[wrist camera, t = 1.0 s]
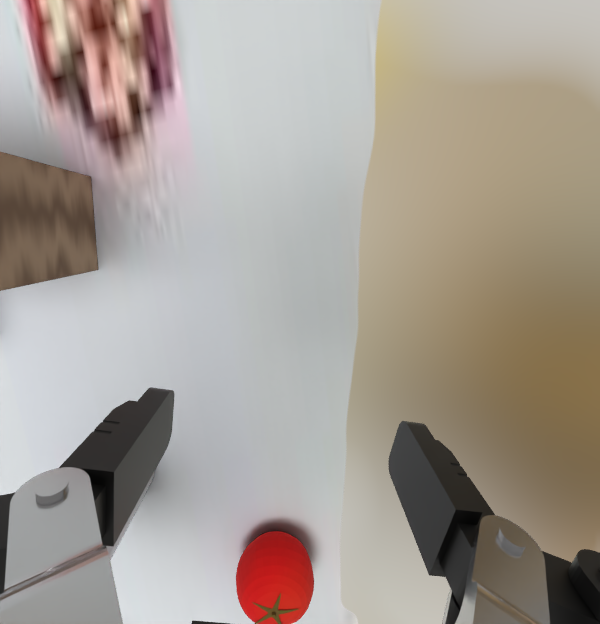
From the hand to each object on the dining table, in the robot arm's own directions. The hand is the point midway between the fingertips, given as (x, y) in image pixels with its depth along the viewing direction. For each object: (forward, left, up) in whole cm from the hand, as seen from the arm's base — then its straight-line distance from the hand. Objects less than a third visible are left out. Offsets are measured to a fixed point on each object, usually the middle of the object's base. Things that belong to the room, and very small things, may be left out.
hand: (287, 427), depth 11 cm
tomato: (-50, -2, -35) cm, 61 cm away
